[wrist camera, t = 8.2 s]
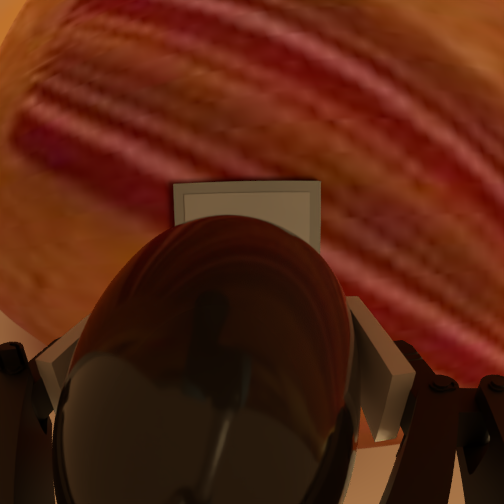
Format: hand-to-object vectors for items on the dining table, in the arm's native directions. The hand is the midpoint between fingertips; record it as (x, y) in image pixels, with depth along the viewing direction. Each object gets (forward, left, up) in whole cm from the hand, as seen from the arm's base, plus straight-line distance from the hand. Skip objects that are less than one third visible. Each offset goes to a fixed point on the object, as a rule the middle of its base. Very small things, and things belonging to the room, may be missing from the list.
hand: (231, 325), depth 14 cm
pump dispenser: (0, 0, -3) cm, 3 cm away
